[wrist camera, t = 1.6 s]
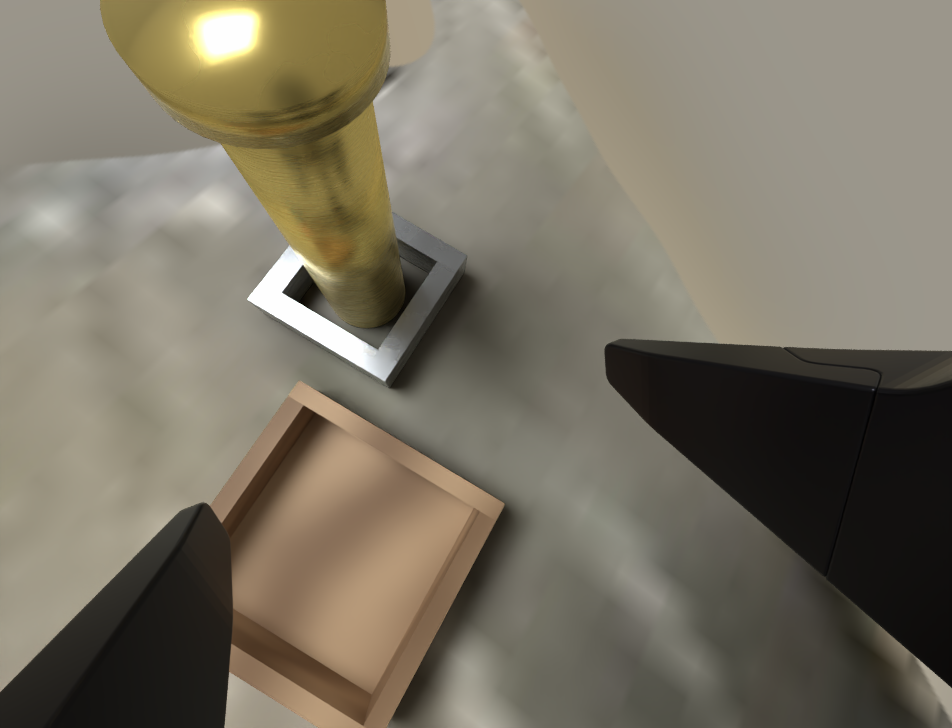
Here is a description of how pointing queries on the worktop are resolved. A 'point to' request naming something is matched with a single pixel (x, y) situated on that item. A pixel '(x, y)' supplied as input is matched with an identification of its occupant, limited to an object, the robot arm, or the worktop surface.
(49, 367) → the worktop surface
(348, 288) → the pin
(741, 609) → the worktop surface
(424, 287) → the block
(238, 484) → the tray
